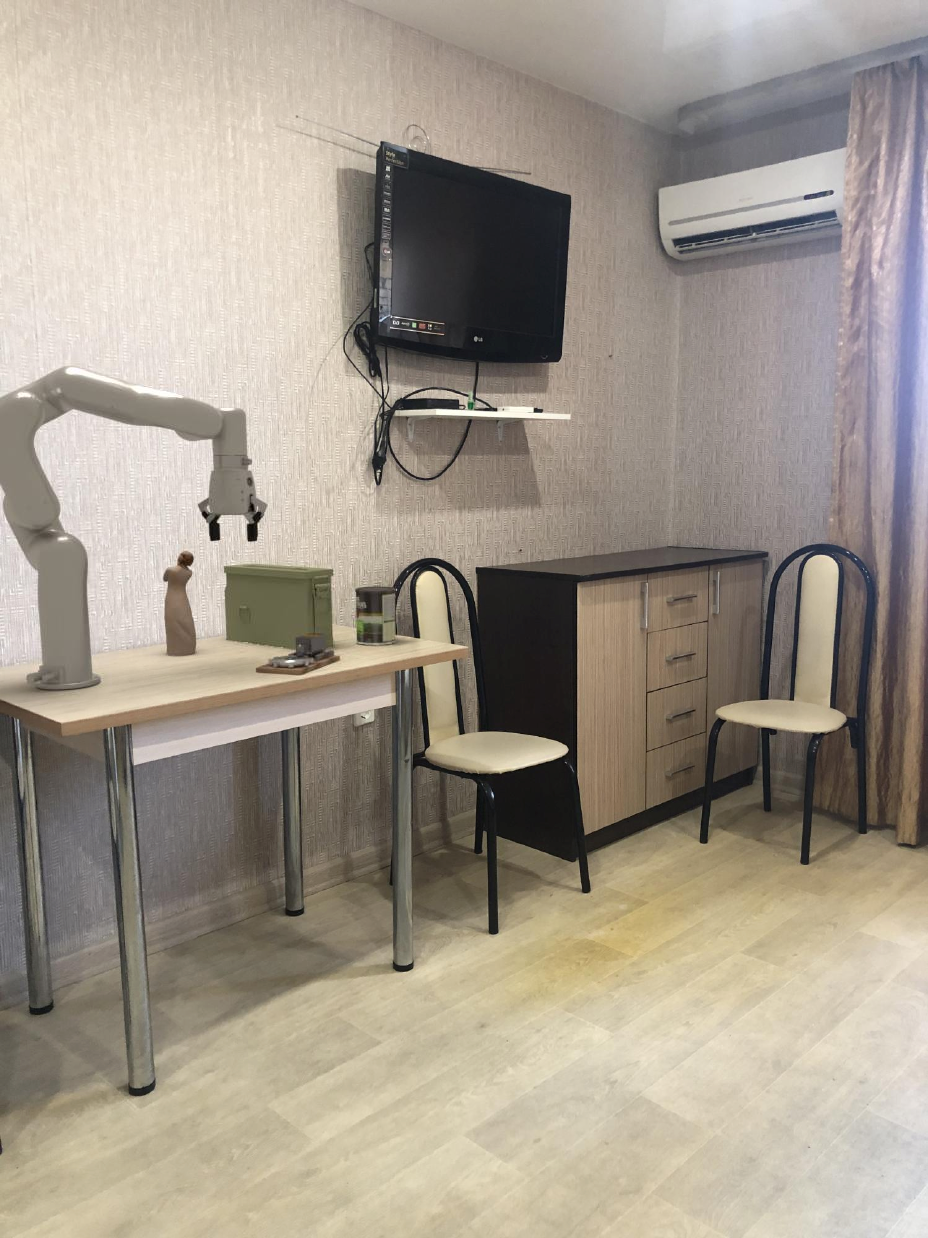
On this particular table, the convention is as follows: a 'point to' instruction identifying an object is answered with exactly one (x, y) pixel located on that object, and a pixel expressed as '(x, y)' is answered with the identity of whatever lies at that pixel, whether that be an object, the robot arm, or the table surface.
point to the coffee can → (375, 615)
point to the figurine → (179, 608)
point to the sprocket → (292, 659)
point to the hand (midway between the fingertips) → (233, 541)
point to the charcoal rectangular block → (312, 644)
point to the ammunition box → (277, 604)
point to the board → (299, 670)
